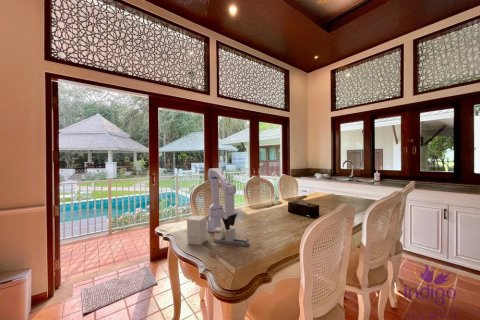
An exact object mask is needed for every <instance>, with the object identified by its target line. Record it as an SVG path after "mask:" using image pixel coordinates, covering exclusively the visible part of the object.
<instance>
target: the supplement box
mask: <svg viewBox="0 0 480 320" xmlns="http://www.w3.org/2000/svg"><path fill="white" fill-rule="evenodd" d="M207 222H208V219H207V216H204V215H193V216H190V217H188V218H187V219H186V229H187V230H186V232H187V233H186V235H187V245H193V246H194V245H195V246H202V244H204V243H206V241H207V240H208V231H207V230H208V225H207Z"/></svg>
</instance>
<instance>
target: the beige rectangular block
mask: <svg viewBox="0 0 480 320" xmlns="http://www.w3.org/2000/svg"><path fill="white" fill-rule="evenodd" d="M223 228H224V227H222V228H219V227H217V228H215V229H214V232H213V234H214V237H213V240H214V239H217V240H221V239H222V238H224V229H223Z"/></svg>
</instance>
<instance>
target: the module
mask: <svg viewBox="0 0 480 320" xmlns="http://www.w3.org/2000/svg"><path fill="white" fill-rule="evenodd" d="M224 233H225V237H224V238H225V241H234V240H235V239H237V238H236V233H237V232H236V228H230V229H229V230H226V229H225V232H224Z"/></svg>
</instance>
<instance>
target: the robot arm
mask: <svg viewBox="0 0 480 320" xmlns="http://www.w3.org/2000/svg"><path fill="white" fill-rule="evenodd" d="M224 174H225V173H224V169H223V168H222V167H216V168H214V167H212V168H209V169H208V171H207V178H208V179H207V180H208V181H210V189H211V205H210V206H209V207H208V212H207V213H208V219H207V233H208V232H210V233H214V229H215V228H217V227H219V228H223V230H224V229H225V230H229V229H231V227H232V226H235V221H236V218H237V216H238V213H237V212H236V209H235V194H236V192H237V188H236V186H235V184H232V183H231V182H230V181H229V179H228V178H227V177H225V176H224ZM218 182H219V183H218ZM219 184H220V186H221V188H222V192H223V198H224V206H223V205H222V204H221V203H220V196H219ZM223 224H224V227H222V225H223Z"/></svg>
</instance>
